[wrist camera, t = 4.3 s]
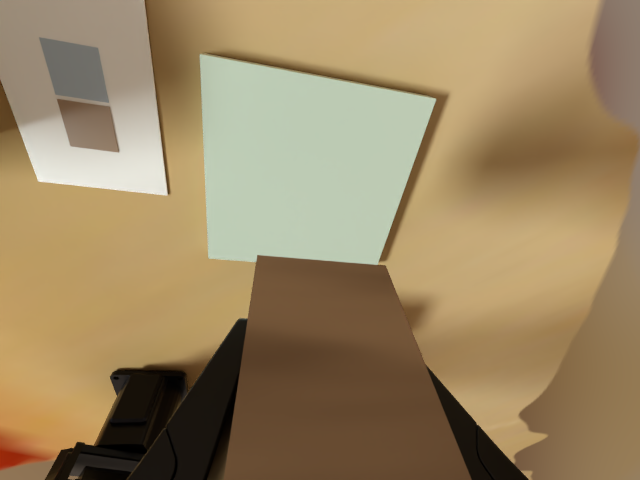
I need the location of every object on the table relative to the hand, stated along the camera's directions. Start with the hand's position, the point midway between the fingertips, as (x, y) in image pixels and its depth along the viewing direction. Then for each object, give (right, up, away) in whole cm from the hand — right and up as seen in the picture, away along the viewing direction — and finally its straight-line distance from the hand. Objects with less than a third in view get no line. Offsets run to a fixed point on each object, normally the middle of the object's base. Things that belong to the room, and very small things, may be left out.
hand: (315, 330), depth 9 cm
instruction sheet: (-12, +10, +6) cm, 17 cm away
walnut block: (0, +1, +1) cm, 1 cm away
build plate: (-1, +7, +9) cm, 12 cm away
